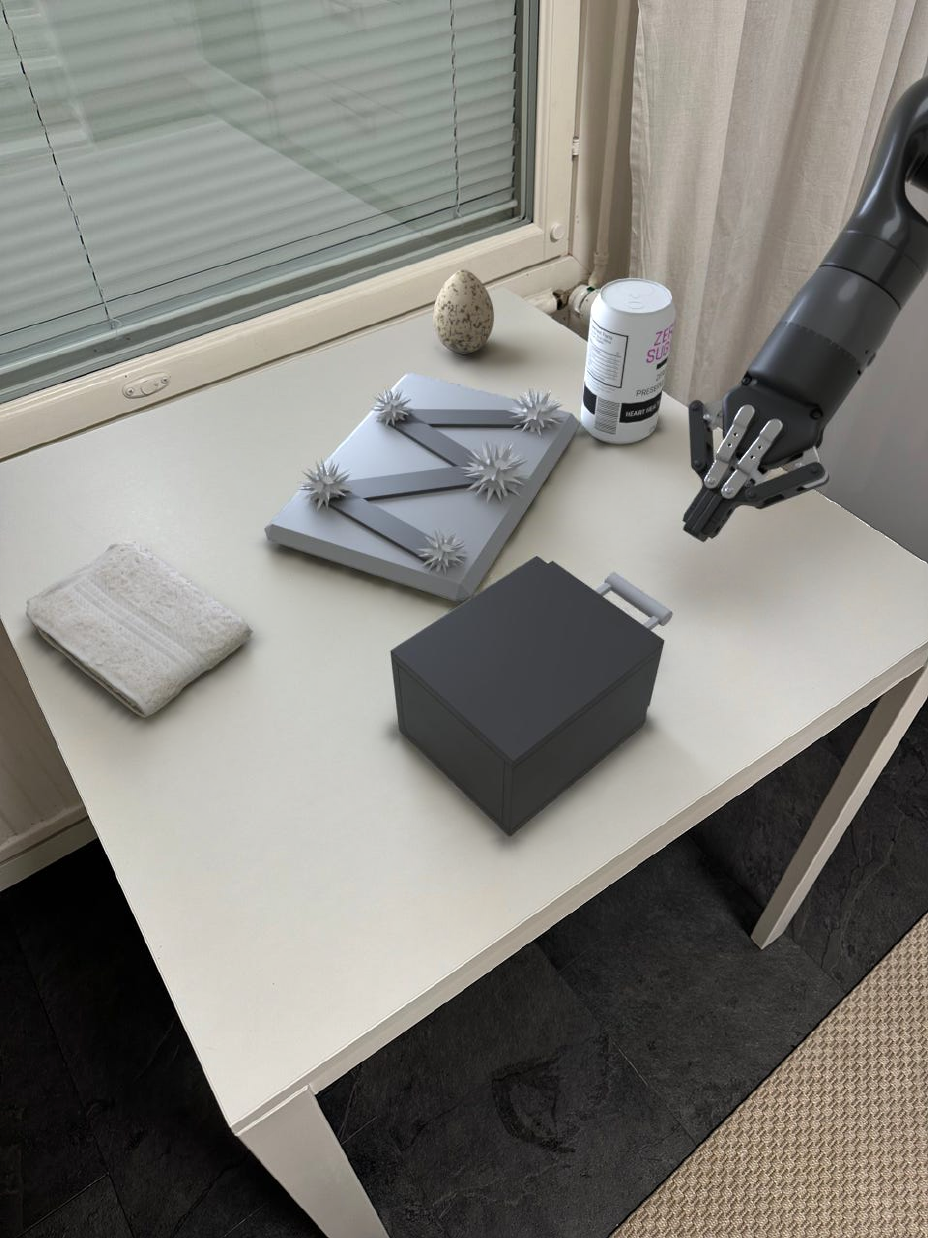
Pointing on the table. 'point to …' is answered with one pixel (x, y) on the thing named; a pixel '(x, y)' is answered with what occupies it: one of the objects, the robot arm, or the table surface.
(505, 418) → the grey zigzag star board
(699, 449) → the robot arm
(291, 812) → the table surface
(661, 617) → the drawer
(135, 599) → the washcloth
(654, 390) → the supplement can
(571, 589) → the cabinet
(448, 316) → the decorative egg
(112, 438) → the table surface
